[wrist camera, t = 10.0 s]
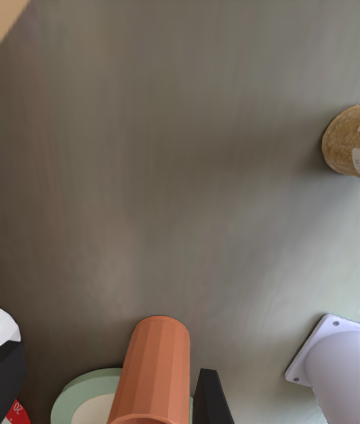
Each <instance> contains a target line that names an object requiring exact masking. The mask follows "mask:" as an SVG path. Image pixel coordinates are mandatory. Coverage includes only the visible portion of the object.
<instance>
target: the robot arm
mask: <svg viewBox="0 0 360 424" xmlns="http://www.w3.org/2000/svg"><path fill="white" fill-rule="evenodd" d="M335 321H336V322H335ZM333 322H334V323H333ZM284 375H285V378H286V380H287V381H290V382H293V383H296V384H300V385H303V386H306V387H310V388H312V389H313V391H314V394H315V396H316V398H317V400H318V403H319V405H320V407H321V409H322V411H323V414H324V416H325V418H326V420H327V422H328V424H360V324H359V323H356V322H353V321H350V320H347V319H344V318H340V317H337V316H334V315H331V314H327V315H325V316H323V318H322V319H321V321H320V322H319V324H318V325H317V326H316V328H315V329H314V331H313V332H312V334H311V335H310V337H309V338H308V340H307V341H306V343H305V344H304V346H303V347H302V349H301V350H300V352H299V353H298V354H297V356H296V357H295V359H294V360H293V362H292V363H291V365H290V366H289V368H288V369H287V371H286V372H285V374H284ZM26 379H27V374H26V364H25V354H24V344H23V342H19V341H13V340H8V341H6V342H5V343H3V344H2V345H1V346H0V424H1V423H2V422H3V420H4V419H5V417H6V415H7V414H8V412H9V411H10V409H11V407H12V406H13V404H14V402H15V400H16V398H17V396H18V395H19V393H20V391H21V389H22V387H23V385H24V383H25V381H26ZM192 424H235V423H234V421H233V418H232V415H231V413H230V410H229V407H228V404H227V401H226V398H225V395H224V392H223V389H222V386H221V382H220V379H219V375H218V372H217V371H216V370H210V369H204V368H201V369H200V374H199V378H198V382H197V386H196V391H195V395H194V399H193V409H192Z"/></svg>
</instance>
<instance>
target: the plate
mask: <svg viewBox="0 0 360 424" xmlns="http://www.w3.org/2000/svg"><path fill="white" fill-rule="evenodd" d="M121 370H122V368H106V369H100V370H95V371H91V372H88V373H85V374H83V375H81V376H79V377H77V378H75V379H73V380H72V381H71V382H69V383H68V384H67V385H66V386H65V387H64V388H63V389H62V390H61V392H60V394H59V395H58V397H57V399H56V401H55V403H54V405H53V408H52V411H51V424H106V422H107V418H108V415H109V411H110V408H111V405H112V401H113V398H114V394H115V391H116V387H117V384H118V381H119V377H120V374H121ZM192 409H193V398H192V397H191V396H190V424H192Z"/></svg>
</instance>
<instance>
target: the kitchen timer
mask: <svg viewBox="0 0 360 424" xmlns="http://www.w3.org/2000/svg"><path fill="white" fill-rule="evenodd" d="M1 424H31V422H30V419H29V417H28V415H27V412H26V410H25V409H24V408H23V407H22V405H21V404H20V403H19V402H18V401H17V400H15V402H14V404H13V406H12V407H11V409H10V411H9V412H8V414H7V415H6V417H5V419H4V420H3V422H2V423H1Z"/></svg>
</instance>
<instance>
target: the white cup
mask: <svg viewBox="0 0 360 424" xmlns="http://www.w3.org/2000/svg"><path fill="white" fill-rule="evenodd" d="M8 340H13V341H19V342H20V340H21V337H20V332H19V327H18V325H17V324H16V323H15V321H14V320H13V319H12V317H11V316H10V315H9V314H8V313H6V312H5V311H3V310H2V309H0V346H1V345H2V344H3V343H5V342H6V341H8Z"/></svg>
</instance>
